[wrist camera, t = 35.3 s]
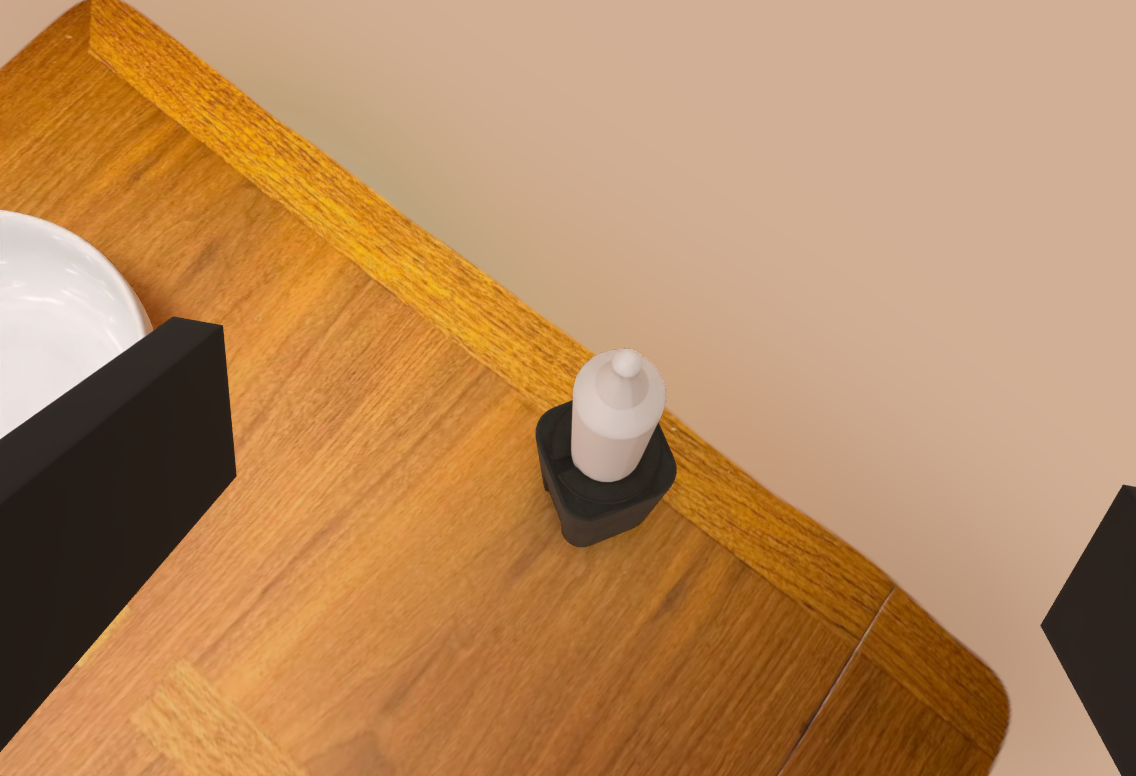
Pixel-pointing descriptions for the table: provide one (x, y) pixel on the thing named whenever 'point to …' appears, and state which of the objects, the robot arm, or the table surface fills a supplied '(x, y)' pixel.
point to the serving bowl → (57, 314)
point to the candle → (607, 448)
